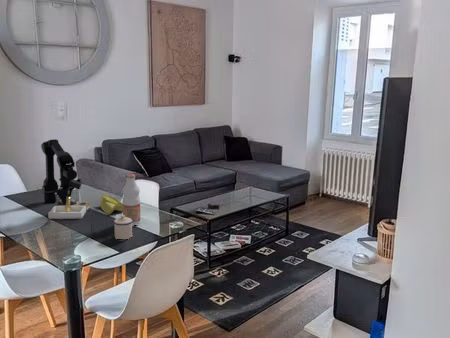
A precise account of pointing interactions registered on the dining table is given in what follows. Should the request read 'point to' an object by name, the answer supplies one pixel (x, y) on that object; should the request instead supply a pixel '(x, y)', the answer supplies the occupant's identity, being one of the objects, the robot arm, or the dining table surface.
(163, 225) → the dining table surface
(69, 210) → the lock pin
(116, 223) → the teacup with lid
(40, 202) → the dining table surface
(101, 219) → the dining table surface
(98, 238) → the dining table surface
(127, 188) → the fruit juice
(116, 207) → the plastic component
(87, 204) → the plate
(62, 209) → the tray
